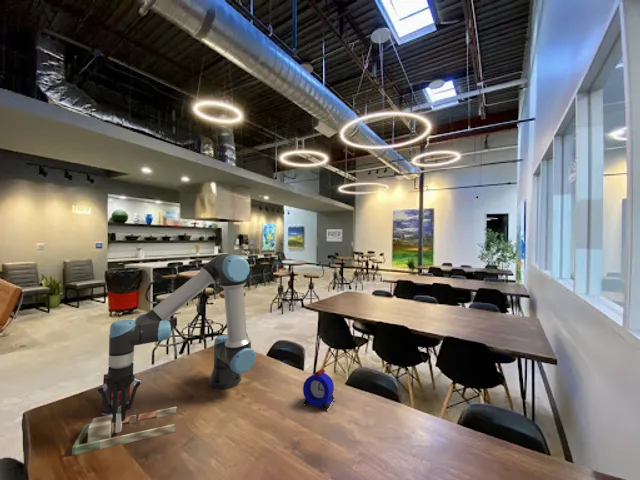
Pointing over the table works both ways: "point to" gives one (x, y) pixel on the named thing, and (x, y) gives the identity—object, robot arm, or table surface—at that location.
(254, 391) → the table surface
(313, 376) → the alarm clock
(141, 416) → the channel
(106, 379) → the supplement box
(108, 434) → the cream white block
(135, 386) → the robot arm
